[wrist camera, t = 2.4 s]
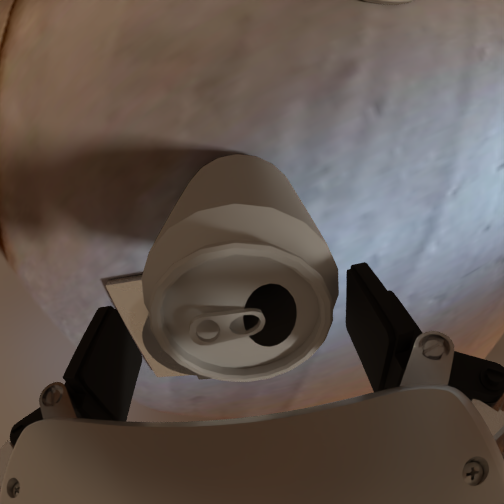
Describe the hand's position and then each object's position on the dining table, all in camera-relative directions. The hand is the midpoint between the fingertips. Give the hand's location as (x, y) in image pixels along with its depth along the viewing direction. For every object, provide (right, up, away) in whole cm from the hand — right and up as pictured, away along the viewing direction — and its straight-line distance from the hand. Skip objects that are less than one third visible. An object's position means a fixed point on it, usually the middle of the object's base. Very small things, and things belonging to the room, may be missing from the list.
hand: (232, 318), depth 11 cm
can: (0, +6, +9) cm, 11 cm away
